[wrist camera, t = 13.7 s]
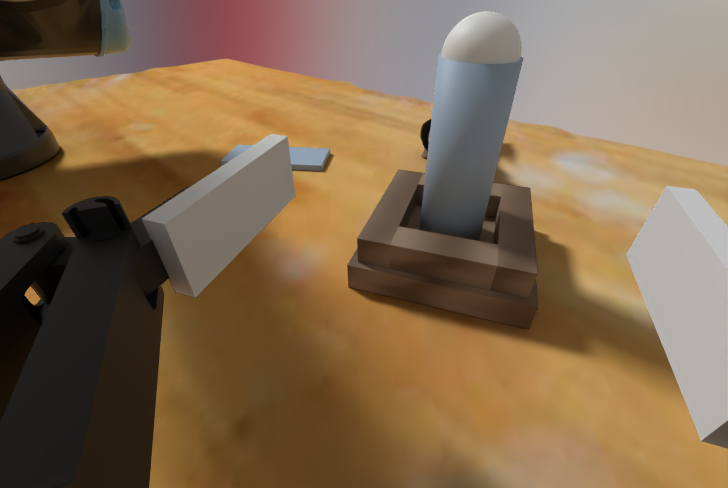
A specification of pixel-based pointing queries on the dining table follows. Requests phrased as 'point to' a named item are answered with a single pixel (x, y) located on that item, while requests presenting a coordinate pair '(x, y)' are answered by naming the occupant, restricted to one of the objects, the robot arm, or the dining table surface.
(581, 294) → the dining table surface
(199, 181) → the robot arm
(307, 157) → the plank
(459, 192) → the cylinder
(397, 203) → the cradle
